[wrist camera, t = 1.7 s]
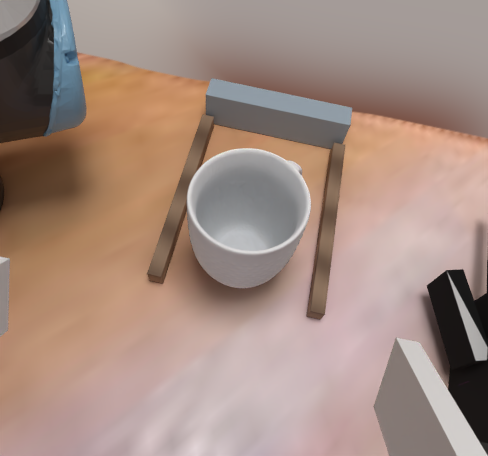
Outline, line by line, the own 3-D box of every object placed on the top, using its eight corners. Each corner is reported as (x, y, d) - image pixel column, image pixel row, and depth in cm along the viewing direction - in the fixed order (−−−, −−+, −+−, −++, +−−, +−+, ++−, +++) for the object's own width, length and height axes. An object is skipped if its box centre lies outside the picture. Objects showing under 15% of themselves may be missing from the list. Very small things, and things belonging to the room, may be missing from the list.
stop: (339, 150, 56) (350, 125, 52) (206, 122, 57) (205, 94, 53) (341, 134, 58) (352, 107, 53) (211, 106, 59) (211, 78, 54)
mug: (249, 180, 53) (260, 105, 42) (323, 228, 51) (356, 162, 39) (170, 265, 47) (158, 205, 35) (250, 325, 44) (264, 281, 33)
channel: (320, 319, 45) (324, 314, 44) (149, 280, 46) (147, 273, 44) (341, 154, 56) (345, 144, 54) (202, 124, 57) (202, 114, 55)
